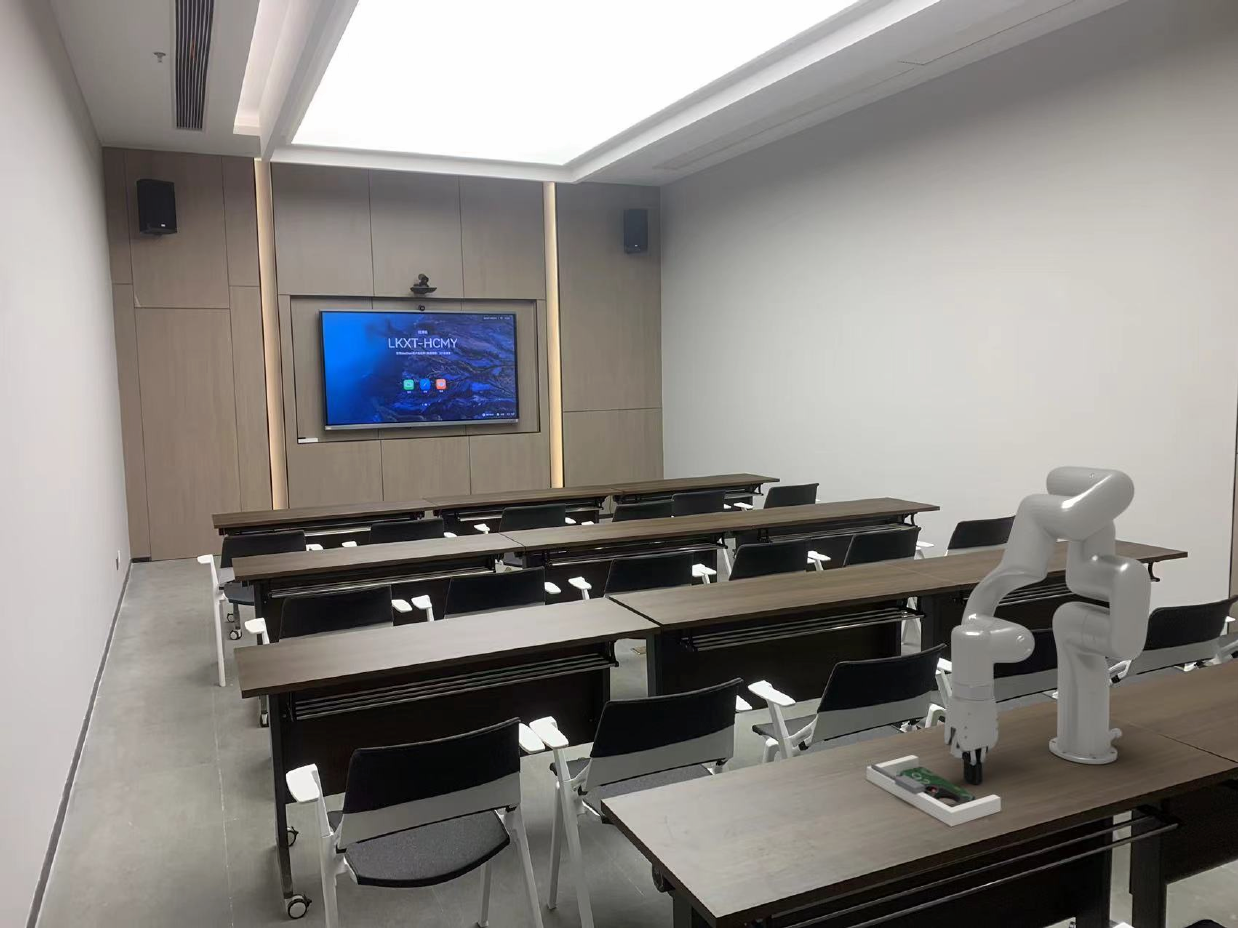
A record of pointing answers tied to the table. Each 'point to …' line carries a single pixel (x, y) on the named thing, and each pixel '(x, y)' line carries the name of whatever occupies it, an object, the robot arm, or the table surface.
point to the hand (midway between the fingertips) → (973, 780)
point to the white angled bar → (914, 794)
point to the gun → (938, 786)
